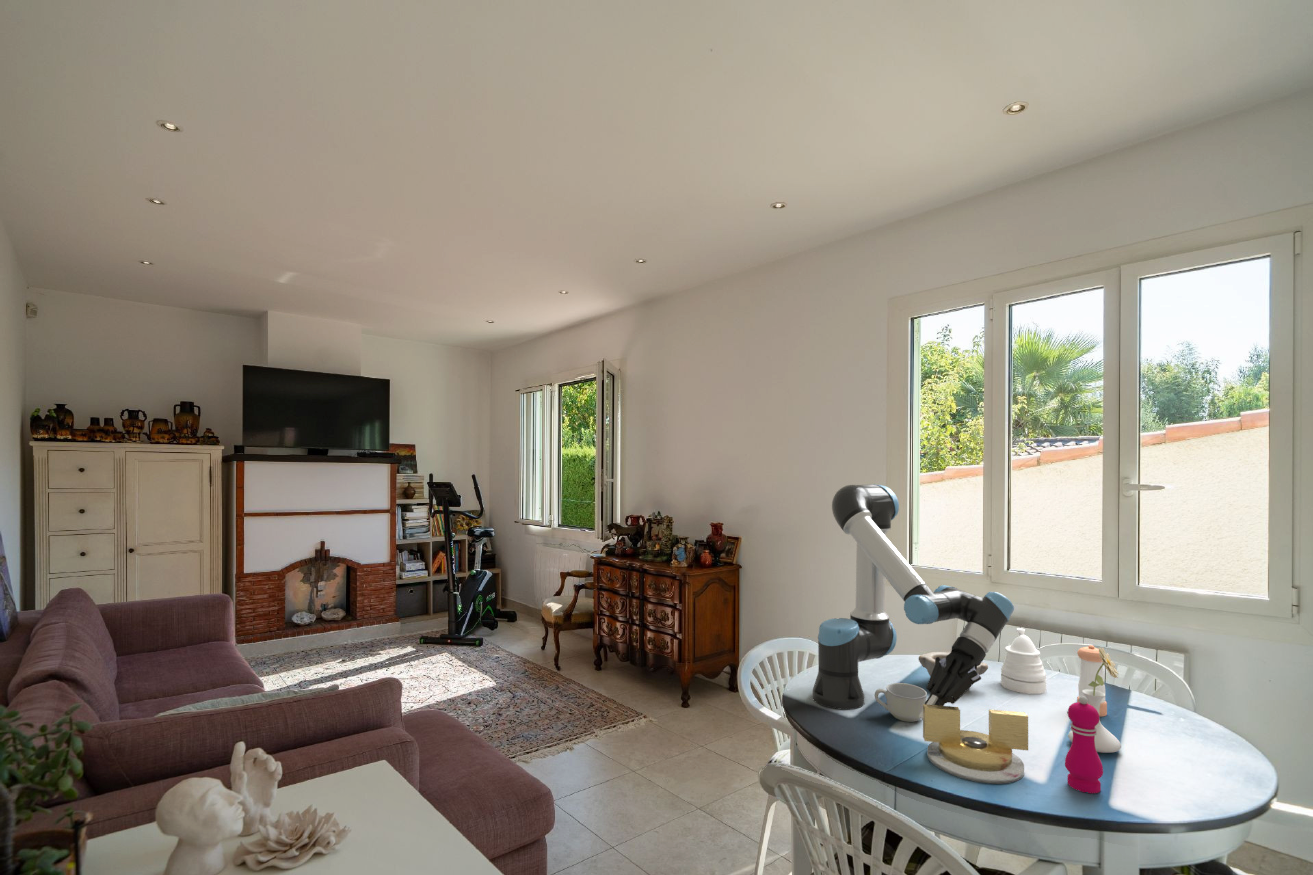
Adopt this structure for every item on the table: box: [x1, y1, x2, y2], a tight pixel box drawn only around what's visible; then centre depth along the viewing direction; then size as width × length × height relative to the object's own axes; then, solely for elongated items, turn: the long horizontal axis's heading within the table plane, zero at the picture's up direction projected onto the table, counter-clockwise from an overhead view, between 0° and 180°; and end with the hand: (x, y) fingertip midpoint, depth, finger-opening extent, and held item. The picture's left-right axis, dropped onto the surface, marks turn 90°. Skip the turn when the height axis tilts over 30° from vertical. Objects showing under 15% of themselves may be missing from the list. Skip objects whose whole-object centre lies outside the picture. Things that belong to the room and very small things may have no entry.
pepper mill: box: [1064, 696, 1104, 794], centre depth 150 cm, size 7×7×20 cm
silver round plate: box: [927, 742, 1025, 785], centre depth 162 cm, size 21×21×2 cm
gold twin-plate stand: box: [922, 704, 1029, 770], centre depth 162 cm, size 18×17×10 cm
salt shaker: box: [1076, 644, 1108, 717], centre depth 196 cm, size 7×7×19 cm
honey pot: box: [1000, 627, 1047, 695], centre depth 217 cm, size 13×13×18 cm
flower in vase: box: [1067, 647, 1122, 754], centre depth 172 cm, size 13×11×25 cm
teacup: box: [874, 682, 928, 723], centre depth 190 cm, size 14×11×8 cm
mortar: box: [918, 651, 989, 678], centre depth 216 cm, size 17×17×9 cm
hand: (923, 719), depth 166 cm, fingers closed
